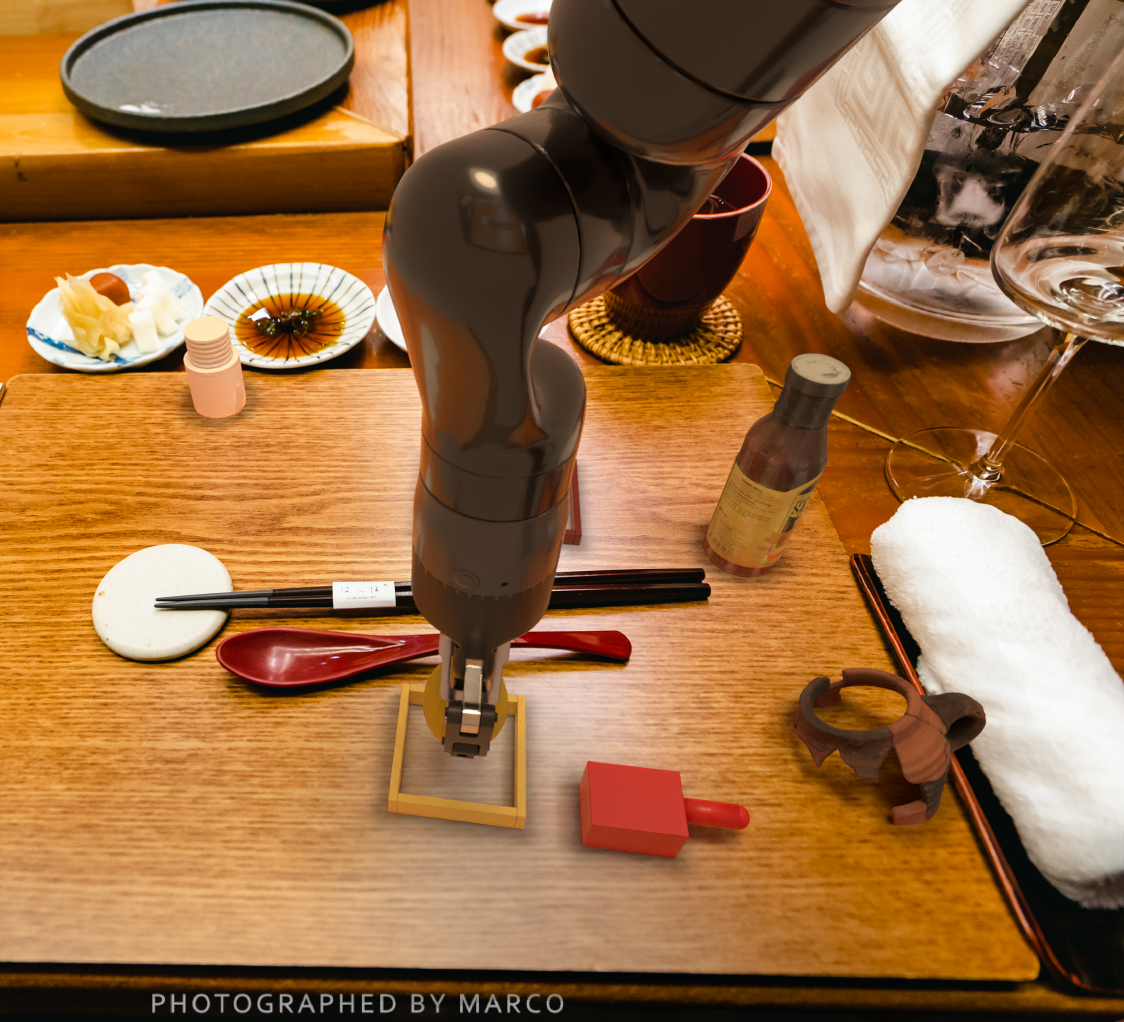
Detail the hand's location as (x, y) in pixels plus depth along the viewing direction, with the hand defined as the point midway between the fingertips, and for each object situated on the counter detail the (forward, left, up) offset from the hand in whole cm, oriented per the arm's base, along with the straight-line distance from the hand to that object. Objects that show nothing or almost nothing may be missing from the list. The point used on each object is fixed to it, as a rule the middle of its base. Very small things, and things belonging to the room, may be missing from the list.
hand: (464, 706), depth 52 cm
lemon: (0, 0, -4) cm, 4 cm away
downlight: (+28, -39, -8) cm, 49 cm away
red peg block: (-14, +3, -8) cm, 16 cm away
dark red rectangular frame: (-3, -27, -8) cm, 28 cm away
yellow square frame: (0, 0, -8) cm, 8 cm away
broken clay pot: (-30, -4, -8) cm, 31 cm away
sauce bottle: (-24, -23, -8) cm, 34 cm away
